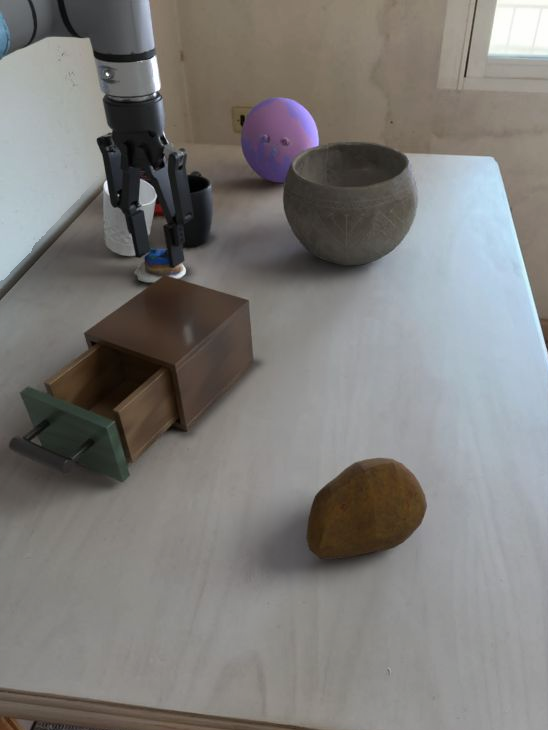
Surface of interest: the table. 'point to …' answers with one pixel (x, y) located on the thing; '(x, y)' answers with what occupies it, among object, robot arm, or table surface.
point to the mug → (199, 211)
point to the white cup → (116, 222)
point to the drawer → (98, 413)
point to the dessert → (158, 267)
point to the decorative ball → (276, 137)
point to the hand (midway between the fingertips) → (160, 258)
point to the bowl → (350, 200)
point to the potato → (365, 510)
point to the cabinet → (184, 340)
